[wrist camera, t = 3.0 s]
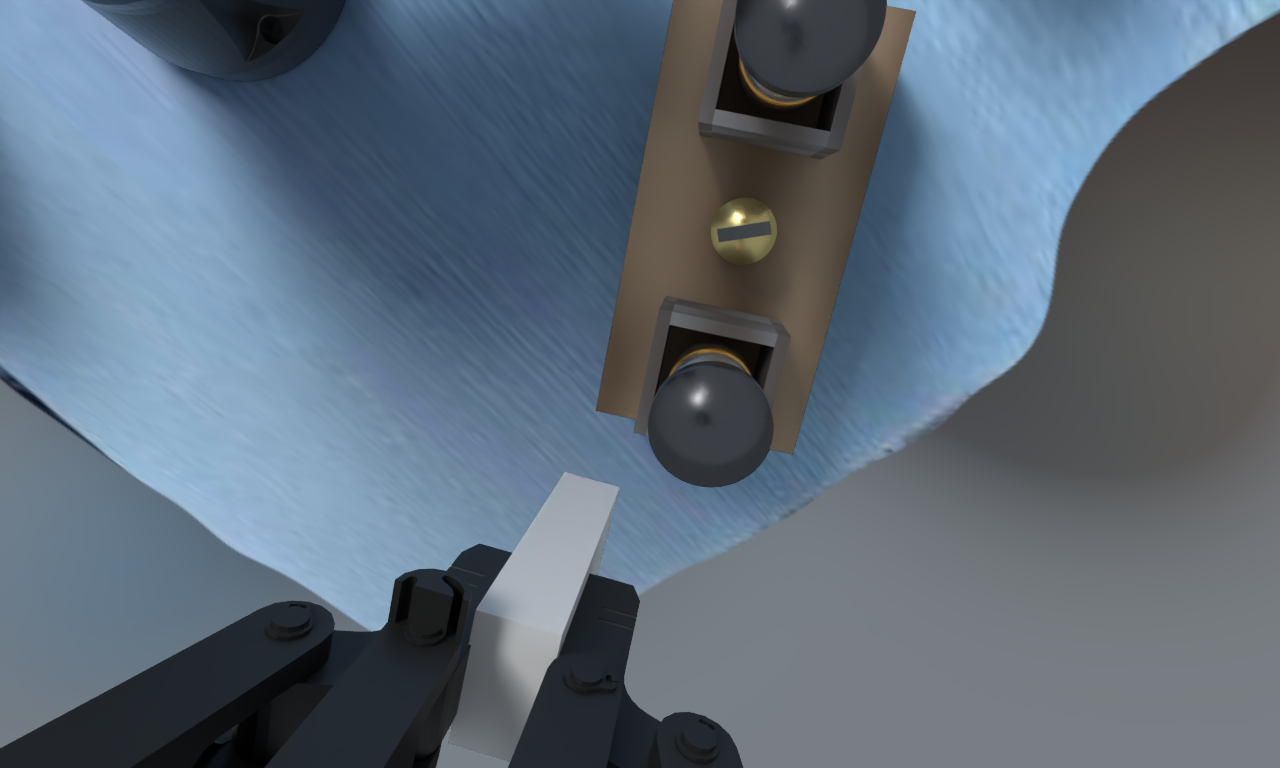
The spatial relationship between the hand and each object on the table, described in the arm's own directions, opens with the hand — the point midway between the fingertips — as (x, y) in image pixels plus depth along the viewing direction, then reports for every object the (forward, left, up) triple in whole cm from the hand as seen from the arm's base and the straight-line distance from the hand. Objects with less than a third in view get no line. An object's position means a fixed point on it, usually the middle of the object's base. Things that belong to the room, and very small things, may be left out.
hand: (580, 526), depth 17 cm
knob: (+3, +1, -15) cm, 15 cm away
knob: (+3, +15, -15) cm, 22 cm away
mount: (+3, +8, -25) cm, 26 cm away
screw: (+3, +8, -19) cm, 21 cm away
